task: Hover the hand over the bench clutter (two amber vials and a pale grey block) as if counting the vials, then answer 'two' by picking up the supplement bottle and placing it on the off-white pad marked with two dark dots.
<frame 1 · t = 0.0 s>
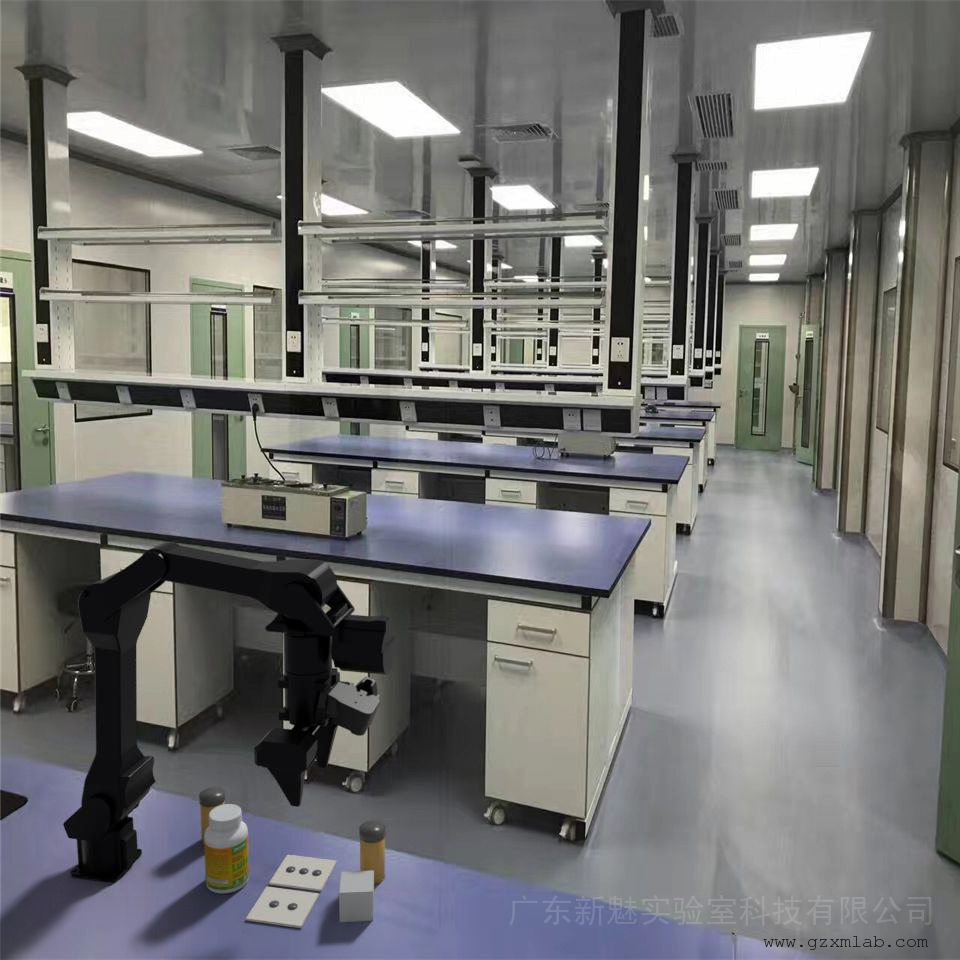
hand: (310, 785, 103), 15 cm above the table, tool pointing down, fingers open, 9 cm apart
grey block: (357, 910, 103), on the table
pad three: (303, 873, 109), on the table
pad two: (283, 907, 103), on the table
amber vial 1: (213, 839, 116), on the table
supplement bottle: (227, 882, 108), on the table
amber vial 2: (372, 876, 109), on the table
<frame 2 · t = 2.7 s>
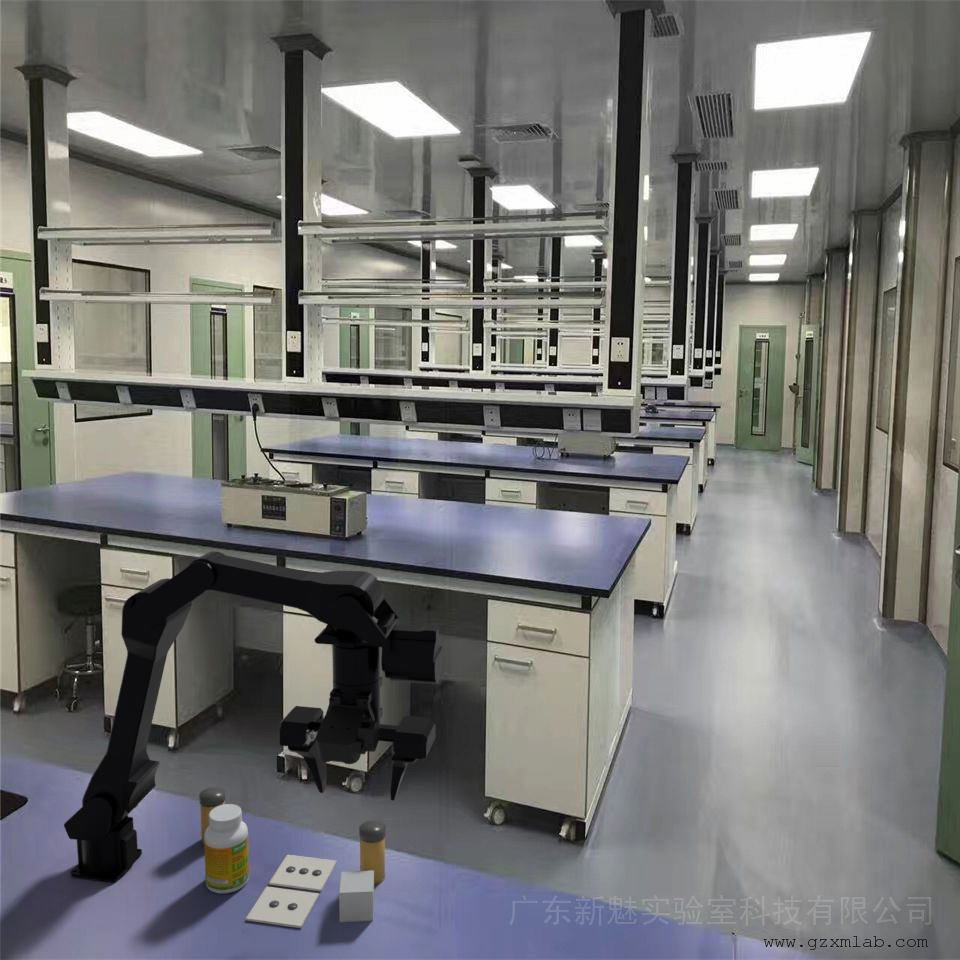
hand: (357, 795, 104), 13 cm above the table, tool pointing down, fingers open, 9 cm apart
nothing on the table moved.
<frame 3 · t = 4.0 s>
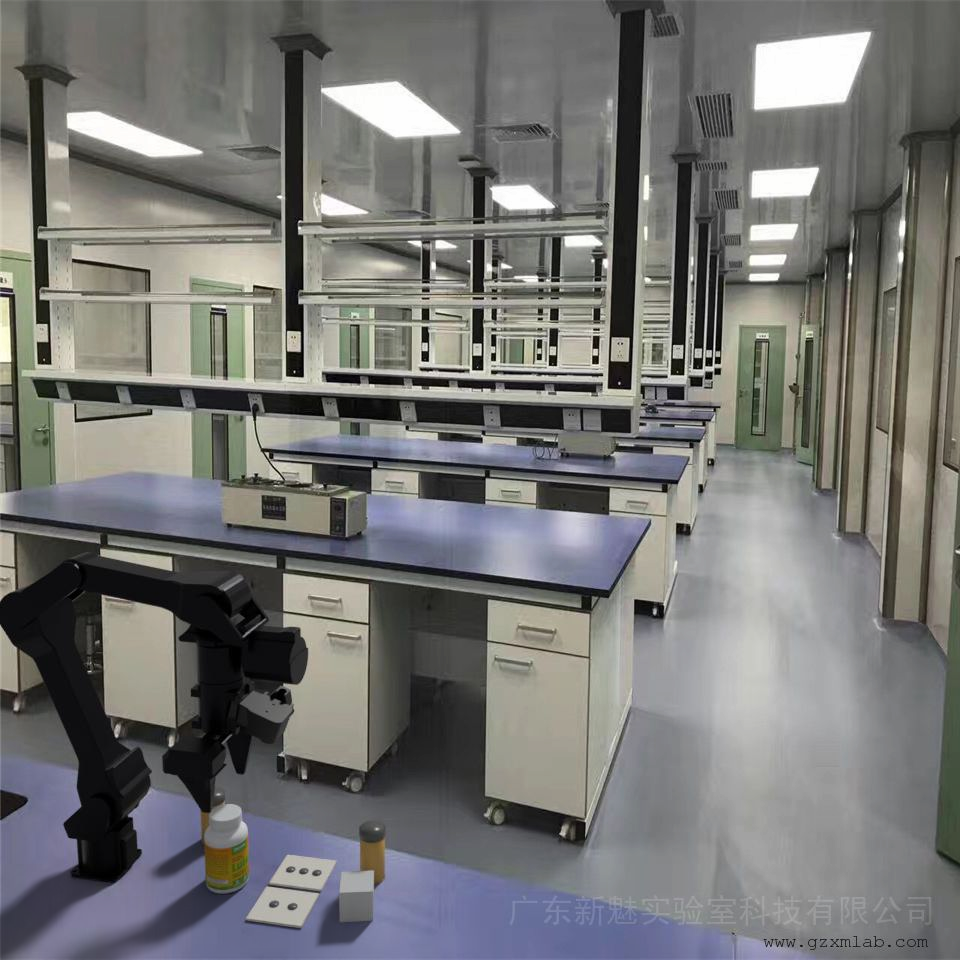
hand: (224, 792, 105), 12 cm above the table, tool pointing down, fingers open, 9 cm apart
nothing on the table moved.
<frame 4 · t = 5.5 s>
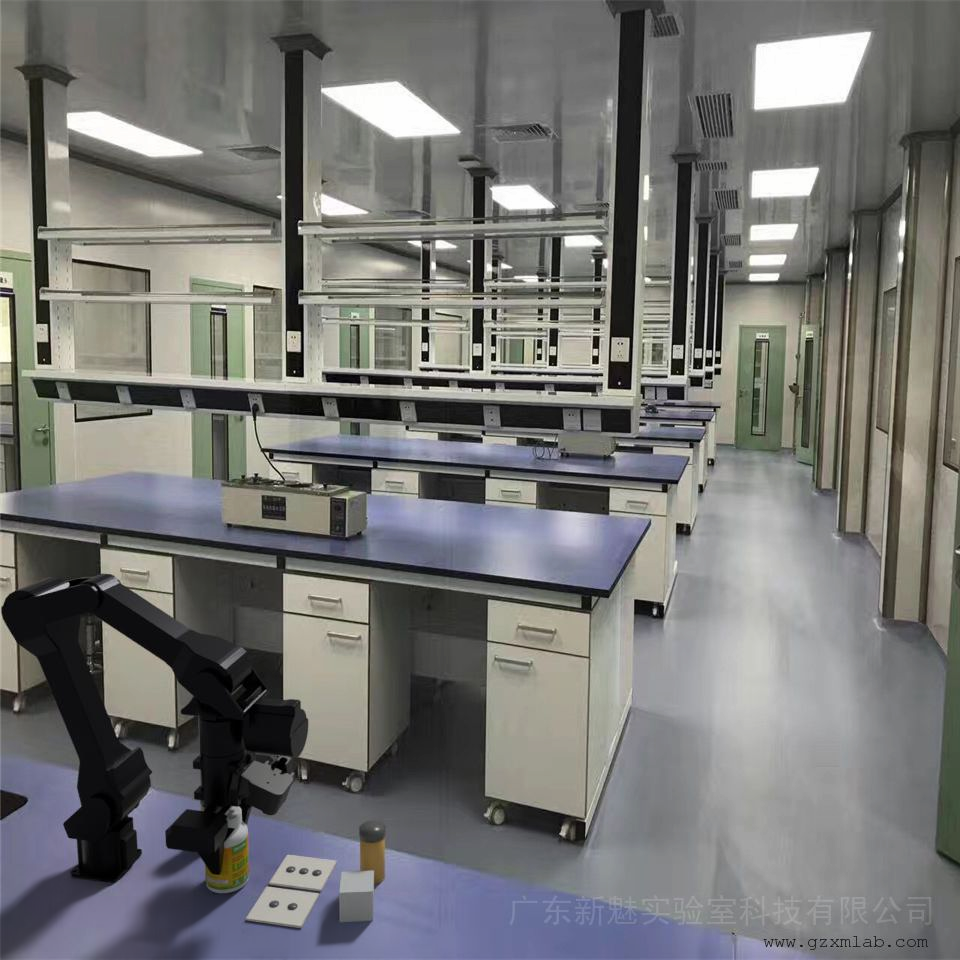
hand: (226, 860, 107), 3 cm above the table, tool pointing down, fingers closed on supplement bottle, 5 cm apart
supplement bottle: (227, 882, 108), on the table, touching gripper
everything else where it was.
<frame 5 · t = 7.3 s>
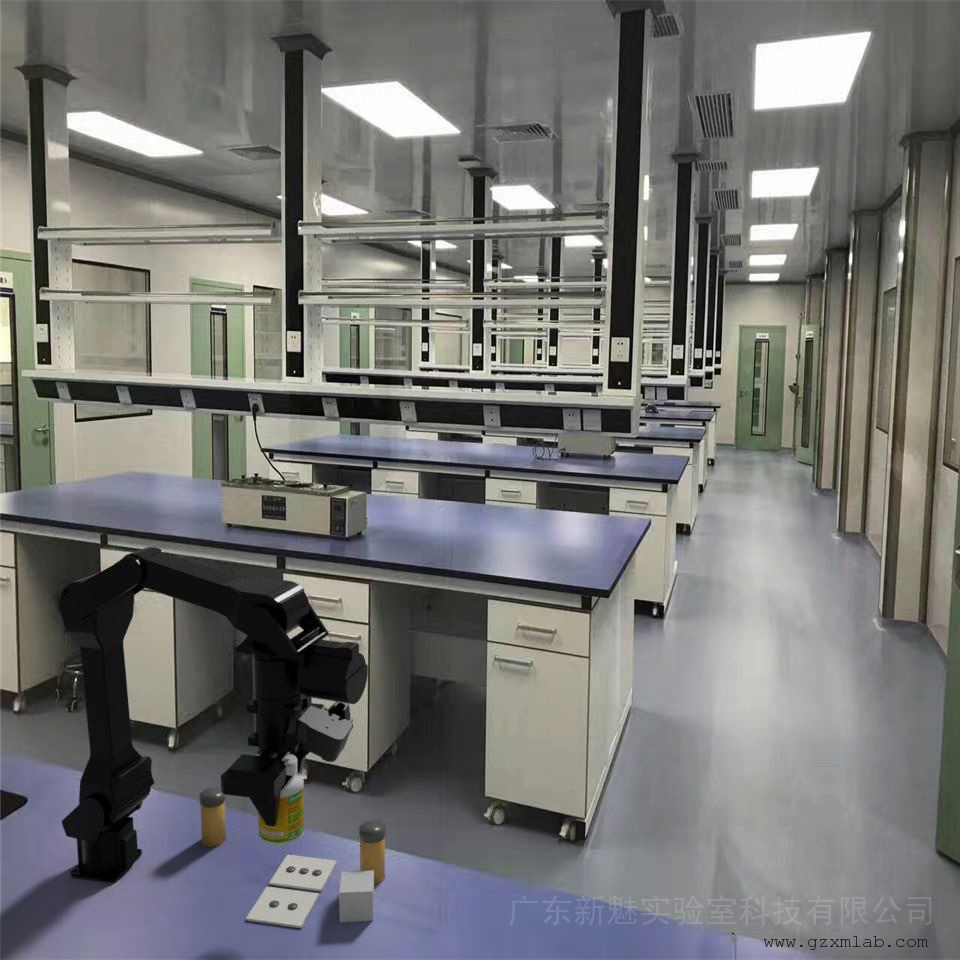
hand: (280, 811, 101), 13 cm above the table, tool pointing down, fingers closed on supplement bottle, 5 cm apart
supplement bottle: (281, 836, 101), point 10 cm above the table, touching gripper
everything else where it was.
when the fingers open (5 cm above the table, at t = 9.1 s): supplement bottle drops 1 cm, resting on pad two.
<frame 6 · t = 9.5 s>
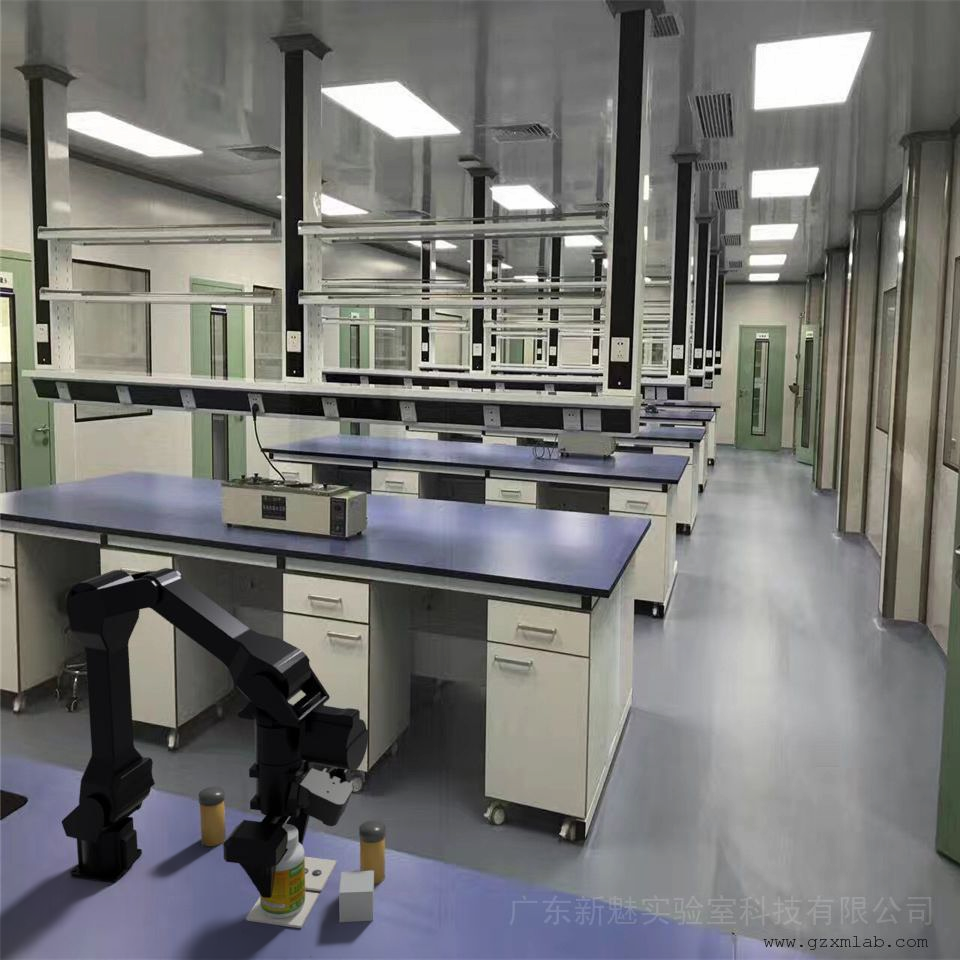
hand: (282, 872, 102), 5 cm above the table, tool pointing down, fingers open, 9 cm apart
supplement bottle: (283, 906, 103), resting on pad two
everything else where it was.
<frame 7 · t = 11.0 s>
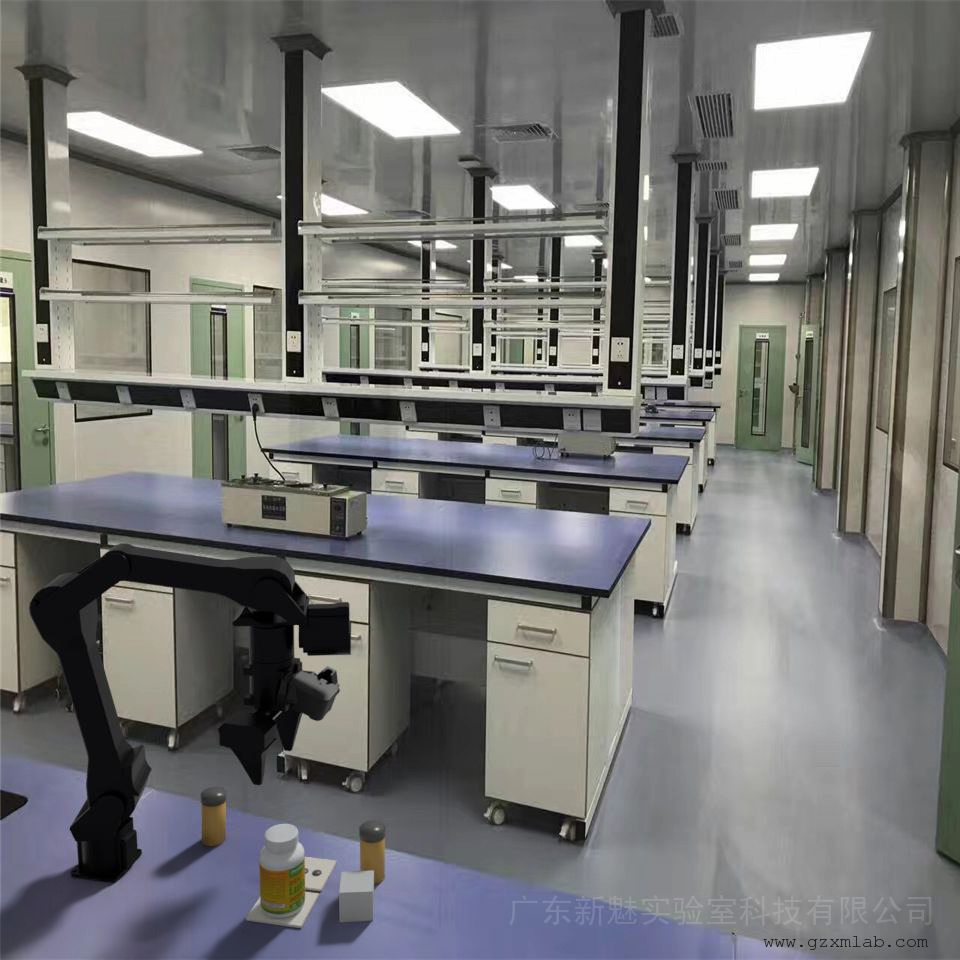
hand: (273, 766, 111), 13 cm above the table, tool pointing down, fingers open, 9 cm apart
nothing on the table moved.
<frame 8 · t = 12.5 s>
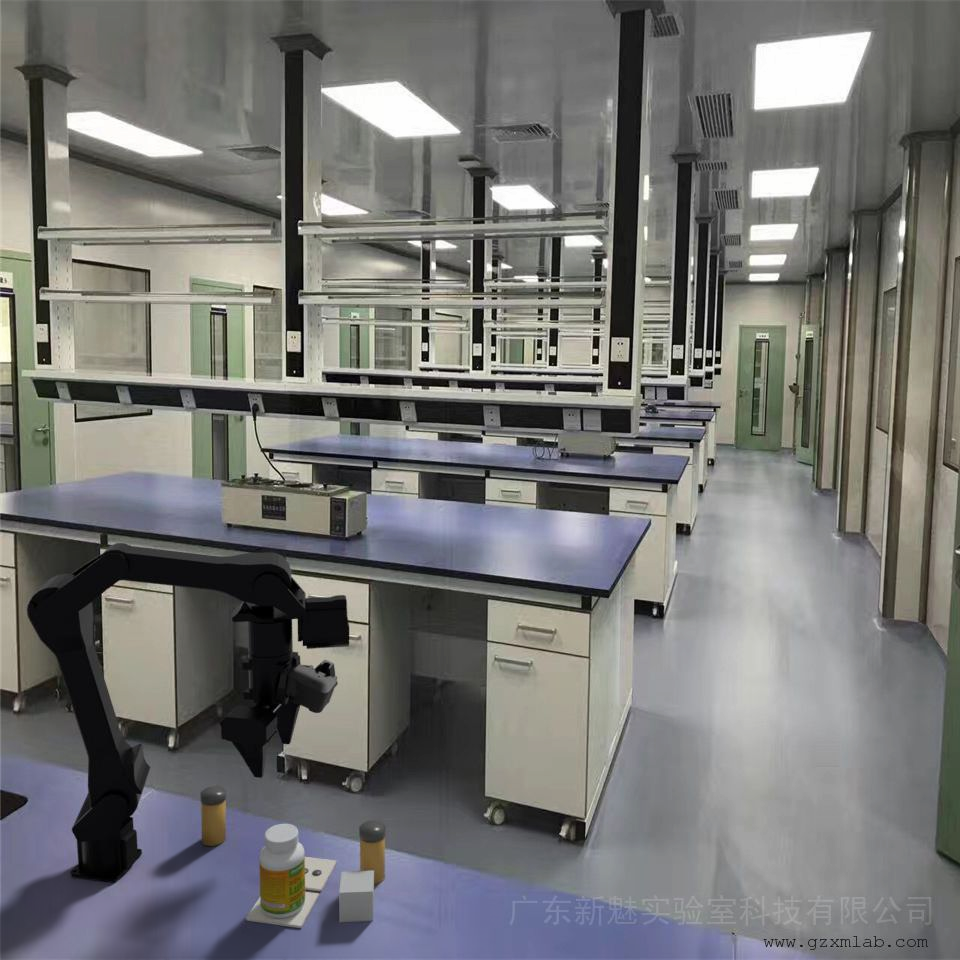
hand: (273, 759, 113), 13 cm above the table, tool pointing down, fingers open, 9 cm apart
nothing on the table moved.
at the end: supplement bottle inside the target area on the pad two (0.1 cm from its centre), point 0.2 cm above the pad two's base; supplement bottle tilted 0°; the gripper is holding nothing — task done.
